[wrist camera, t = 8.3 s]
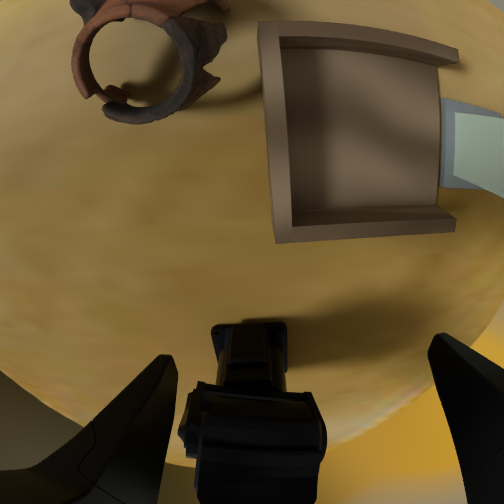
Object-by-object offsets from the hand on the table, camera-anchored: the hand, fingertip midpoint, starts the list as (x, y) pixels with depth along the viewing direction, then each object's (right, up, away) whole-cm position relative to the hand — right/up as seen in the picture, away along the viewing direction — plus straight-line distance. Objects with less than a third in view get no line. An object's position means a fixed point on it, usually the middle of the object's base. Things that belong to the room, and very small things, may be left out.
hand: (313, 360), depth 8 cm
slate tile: (+16, +12, +8) cm, 22 cm away
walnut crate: (+5, +12, +8) cm, 15 cm away
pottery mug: (-8, +18, +6) cm, 20 cm away
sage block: (+16, +12, +8) cm, 21 cm away
